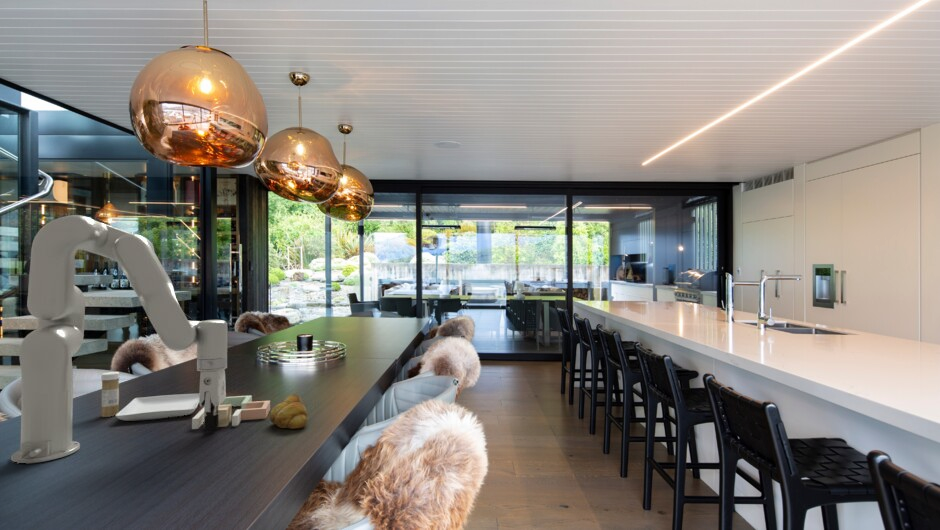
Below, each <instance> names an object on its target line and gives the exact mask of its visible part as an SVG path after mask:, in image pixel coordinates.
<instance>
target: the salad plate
mask: <svg viewBox="0 0 940 530" xmlns="http://www.w3.org/2000/svg"><path fill="white" fill-rule="evenodd" d="M198 405H200V404H199V393H183V394H182V393H181V394H166V395H155V396H145V397H144V396H143V397H142V396H141V397H135V398H134V399H132V400H131V401H130V402H129V403H128V404H127V405H126V406H124V407H123V408H122V409H121V410H120V411H119V412H118V413H117V414H116V415H115V416H114V417H116V418H117V420H121V421H127V422H131V421H132V422H135V421H147V420H157V419H166V418H167V419H168V417H169V418H177V417H178V416H179V417H184V415H185V416H188V415H191V414H193V413H194V412H195V411H196V410H197V408H198Z"/></svg>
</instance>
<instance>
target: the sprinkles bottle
mask: <svg viewBox="0 0 940 530" xmlns="http://www.w3.org/2000/svg"><path fill="white" fill-rule="evenodd" d="M119 381H120V372H119V371H108V372H103V373H101V414H100V417H101V418H111V416H112V417H115V416H114V415H116V414H117V413H118V412H120V411H119V407H120V406H119V402H120V382H119Z"/></svg>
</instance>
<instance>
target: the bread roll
mask: <svg viewBox="0 0 940 530" xmlns="http://www.w3.org/2000/svg"><path fill="white" fill-rule="evenodd" d="M302 401H303V400H302V399H301V397H300V396H299V395H298V394H291V395H289V396H287V397H286V398H285V400H283V402H280V403H279V404H276V405H275V406H273V408H271V410H270V412H269V413H270V414H269V420H270V422H271V423H272V424H274V425H276V426H277V427H278V428H281V429H291V430H292V429H293V430H294V429H301V428H303V427H305V425H306V424H307V421H308V418H307V417H308V412H307V409H306V406H305V404H303V402H302Z"/></svg>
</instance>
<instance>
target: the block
mask: <svg viewBox="0 0 940 530" xmlns="http://www.w3.org/2000/svg"><path fill="white" fill-rule="evenodd" d="M216 414H219V421H218V428H222V427H227V426H229V424H230V423H231V422H232V407H231V404H228V405H219V410H218V413H216ZM204 425H205V412H204V423H203V426H204Z"/></svg>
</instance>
